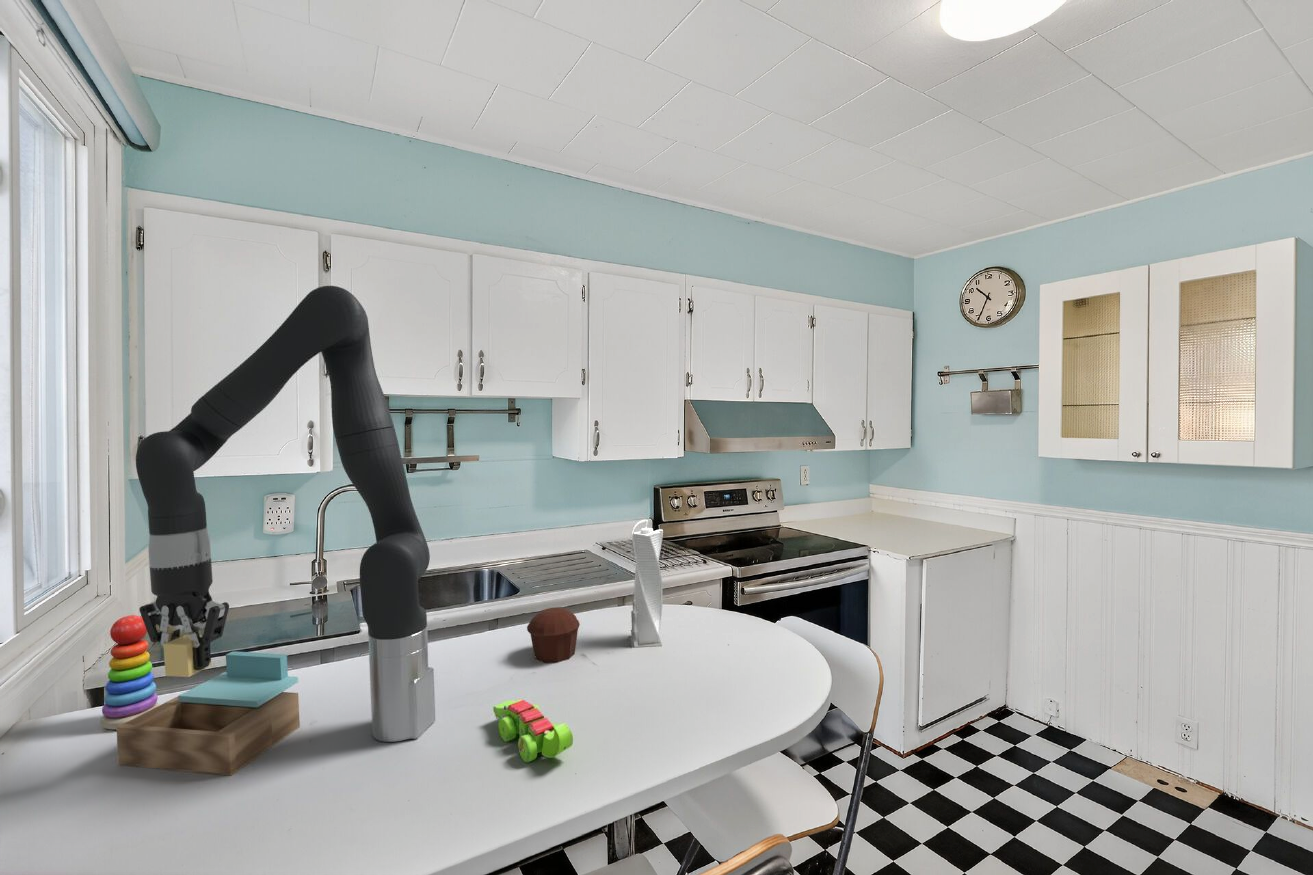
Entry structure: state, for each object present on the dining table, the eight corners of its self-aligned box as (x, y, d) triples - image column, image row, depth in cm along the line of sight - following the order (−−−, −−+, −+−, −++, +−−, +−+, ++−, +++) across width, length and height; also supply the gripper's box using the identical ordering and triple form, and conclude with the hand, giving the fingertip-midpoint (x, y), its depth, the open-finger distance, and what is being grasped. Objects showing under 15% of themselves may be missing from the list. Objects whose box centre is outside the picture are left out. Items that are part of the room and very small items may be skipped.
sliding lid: (298, 682, 108) (296, 654, 108) (257, 707, 99) (255, 677, 99) (224, 677, 110) (223, 650, 110) (178, 701, 102) (176, 672, 101)
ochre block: (211, 665, 97) (209, 634, 96) (188, 676, 93) (186, 644, 92) (188, 664, 97) (186, 634, 97) (165, 675, 93) (163, 644, 93)
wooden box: (299, 726, 105) (298, 692, 105) (230, 775, 91) (228, 736, 91) (199, 718, 108) (197, 685, 108) (118, 764, 94) (116, 727, 94)
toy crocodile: (486, 725, 105) (485, 691, 105) (522, 712, 109) (521, 679, 109) (541, 779, 90) (540, 739, 89) (580, 762, 94) (579, 723, 93)
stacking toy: (126, 733, 104) (119, 626, 103) (89, 729, 105) (82, 623, 104) (171, 710, 111) (165, 610, 110) (136, 707, 113) (130, 608, 112)
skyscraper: (629, 635, 146) (627, 519, 144) (662, 633, 146) (660, 518, 145) (631, 649, 137) (629, 526, 136) (666, 646, 138) (665, 525, 137)
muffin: (555, 640, 142) (554, 598, 142) (590, 651, 136) (590, 607, 135) (516, 658, 133) (515, 613, 132) (552, 670, 126) (551, 623, 125)
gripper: (241, 553, 97) (248, 659, 98) (163, 553, 99) (170, 656, 100) (200, 566, 89) (208, 680, 90) (116, 565, 91) (125, 677, 92)
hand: (188, 667), depth 95 cm, fingers closed on ochre block, 4 cm apart
